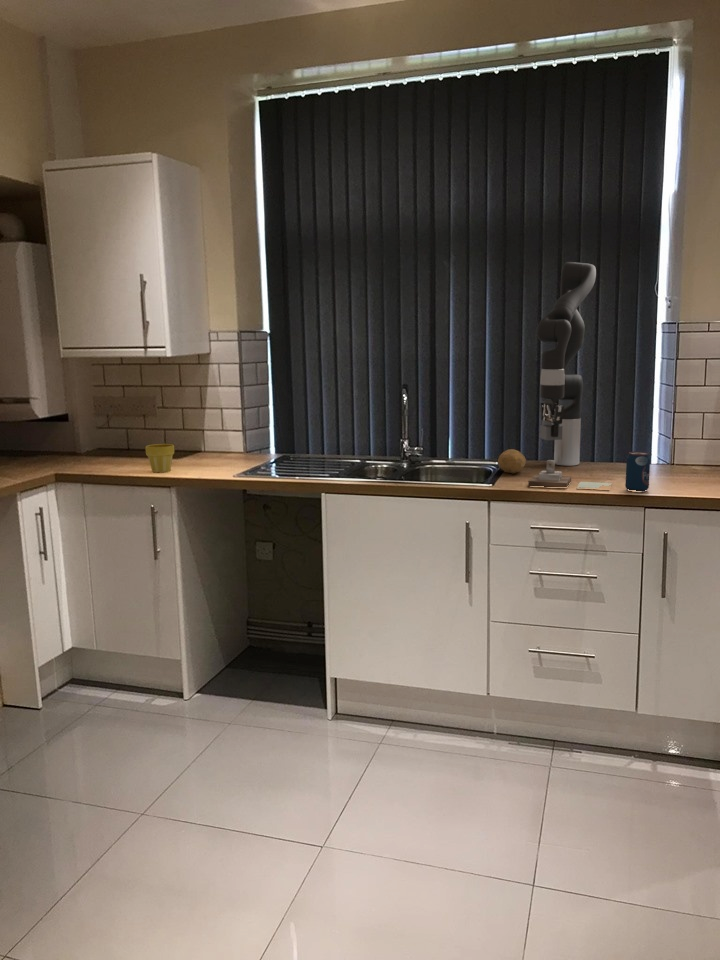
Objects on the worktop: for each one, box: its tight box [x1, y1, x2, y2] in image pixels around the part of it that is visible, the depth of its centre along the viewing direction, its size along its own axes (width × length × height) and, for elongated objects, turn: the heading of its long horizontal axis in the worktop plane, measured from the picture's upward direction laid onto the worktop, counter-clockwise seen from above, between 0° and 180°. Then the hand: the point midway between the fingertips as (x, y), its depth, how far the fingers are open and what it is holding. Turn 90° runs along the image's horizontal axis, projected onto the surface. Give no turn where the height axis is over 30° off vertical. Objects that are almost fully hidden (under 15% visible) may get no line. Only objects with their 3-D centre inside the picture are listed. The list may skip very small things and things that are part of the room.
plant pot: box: [144, 443, 175, 473], centre depth 301 cm, size 10×10×10 cm
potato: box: [497, 448, 527, 474], centre depth 286 cm, size 10×14×8 cm
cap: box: [539, 418, 563, 441], centre depth 261 cm, size 6×6×6 cm
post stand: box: [528, 459, 572, 487], centre depth 264 cm, size 12×12×8 cm
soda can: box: [624, 451, 651, 491], centre depth 252 cm, size 7×7×12 cm
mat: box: [576, 481, 613, 488], centre depth 259 cm, size 10×10×1 cm
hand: (550, 435), depth 262 cm, fingers closed on cap, 5 cm apart
